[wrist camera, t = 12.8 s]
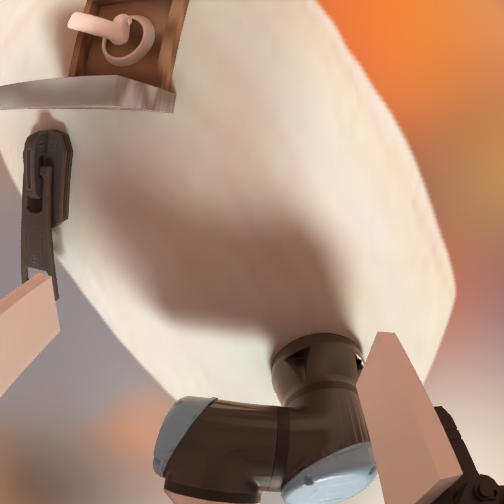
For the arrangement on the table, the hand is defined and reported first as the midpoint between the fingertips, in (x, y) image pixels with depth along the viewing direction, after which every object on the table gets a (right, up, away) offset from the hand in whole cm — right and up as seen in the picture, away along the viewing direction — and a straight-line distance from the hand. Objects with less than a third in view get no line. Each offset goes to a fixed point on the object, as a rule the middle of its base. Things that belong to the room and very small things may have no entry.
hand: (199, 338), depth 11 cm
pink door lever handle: (-14, +31, +20) cm, 39 cm away
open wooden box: (-14, +30, +21) cm, 39 cm away
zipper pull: (-29, +10, +30) cm, 43 cm away
